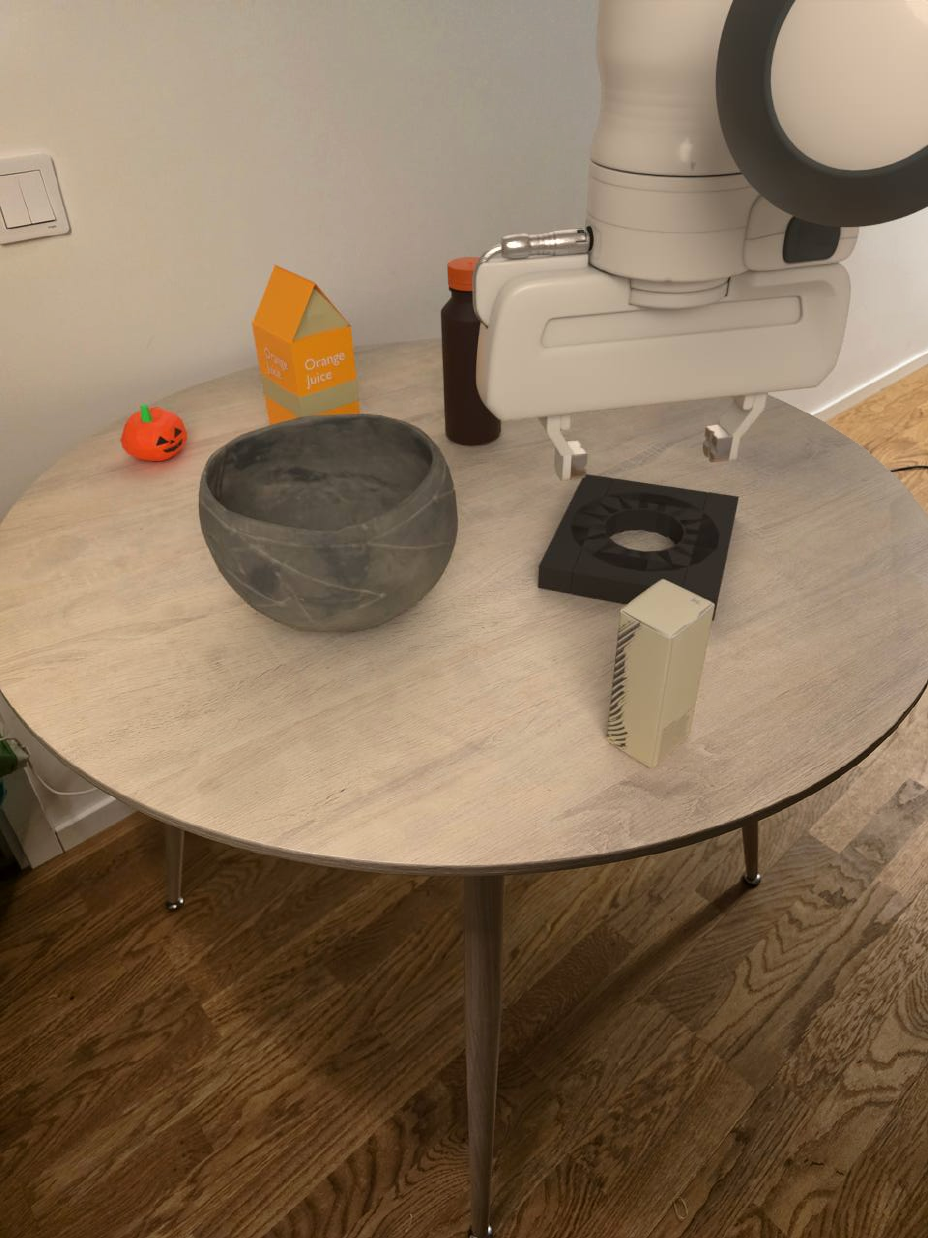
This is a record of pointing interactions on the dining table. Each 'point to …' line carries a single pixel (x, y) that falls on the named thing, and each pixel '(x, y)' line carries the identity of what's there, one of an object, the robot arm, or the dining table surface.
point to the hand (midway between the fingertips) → (644, 466)
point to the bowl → (330, 519)
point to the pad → (622, 574)
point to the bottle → (463, 362)
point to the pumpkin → (153, 434)
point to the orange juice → (303, 351)
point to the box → (657, 671)
